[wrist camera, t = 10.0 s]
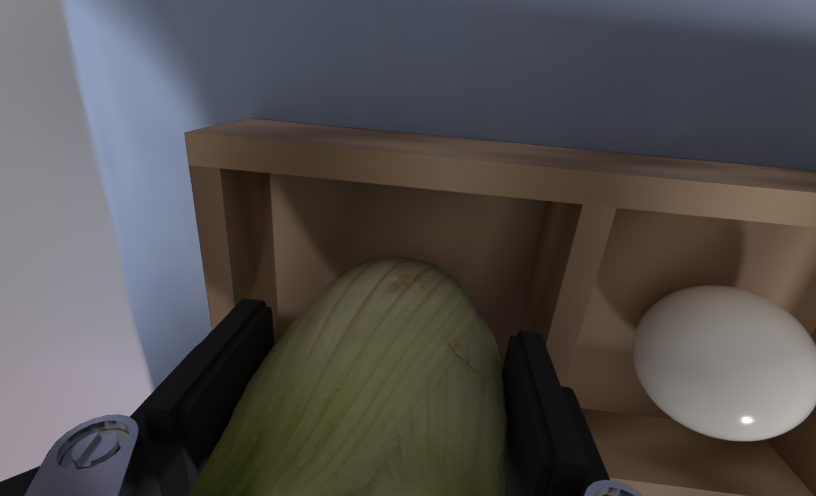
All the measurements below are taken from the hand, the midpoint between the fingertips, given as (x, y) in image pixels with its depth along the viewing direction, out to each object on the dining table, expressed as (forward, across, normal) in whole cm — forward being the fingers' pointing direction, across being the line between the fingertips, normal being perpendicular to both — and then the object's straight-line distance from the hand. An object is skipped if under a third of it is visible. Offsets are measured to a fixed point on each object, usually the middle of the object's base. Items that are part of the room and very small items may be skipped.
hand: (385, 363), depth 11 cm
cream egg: (+4, -10, 0) cm, 10 cm away
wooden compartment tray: (+5, -5, 0) cm, 7 cm away
